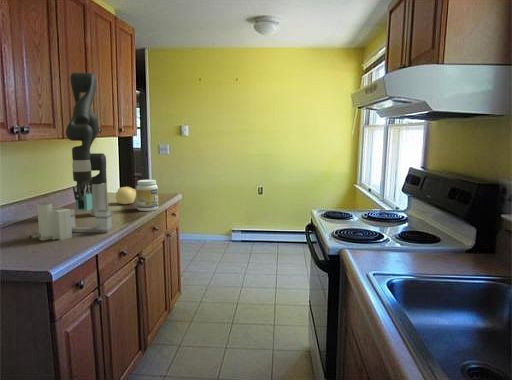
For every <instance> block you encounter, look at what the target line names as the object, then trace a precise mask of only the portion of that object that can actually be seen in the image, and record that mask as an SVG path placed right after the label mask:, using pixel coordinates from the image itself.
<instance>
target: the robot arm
mask: <svg viewBox="0 0 512 380" xmlns="http://www.w3.org/2000/svg"><path fill="white" fill-rule="evenodd" d="M69 78H70V86H71V90H72V95H73V99H74V106H73V110H72V111H73V112H72V118H71V119H70V121H69V123H68V124H67V126H66V128H65V136H66V138H67V140H69V141H73V142H75V141H76V142H77V141H78V142H81V145H76V146H73V147H72V148H71V155H72V156H71V159H72V166H71V167H72V179H73V180H72V181H74V182H76V186H73V187H72V191H73V196H74V200H75V201H76V200H77V201H78V207H79V209H84V201H83V200H84V195H85V193H88V194H92V209H90V210H89V213H90V216H91V217H95V216H96V215H95V212H97V211H99V210H109V202H108V201H109V198H108V197H109V196H108V183H107V156H106V155H105V153H102V152H101V153H99V152H98V153H97V152H95V153H93V152H92V153H91V147H92V144H93V142H94V140H96V137H97V136H98V134H99V131H100V129H99V127H100V126H99V120H98V117H97V115H96V114H95V112H94V110H92V109H91V108H92V105H93V102H94V98H95V95H96V92H97V83H98V82H97V77H96V76H95V74H94V73H91V72H72V73H71V74H70V77H69ZM82 93H83V94H84V93H85V94H84V95H82ZM93 171H95V172H98V174H96V175H94V176H92V172H93ZM81 195H82V197H81Z"/></svg>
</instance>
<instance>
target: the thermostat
mask: <svg viewBox="0 0 512 380" xmlns="http://www.w3.org/2000/svg"><path fill="white" fill-rule="evenodd" d="M36 207H37V208H36V211H37V220H38V221H37V223H38V231H37V232H38V233H37V234H33V235H29V239H35V238H39V241H47V240H60V241H63V240H68V239H73V232H72V228H71V214H70V210H69V208H64V207H61V206H58V205H57V206H53V203H52V202H42V203H37V204H36Z"/></svg>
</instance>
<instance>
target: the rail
mask: <svg viewBox="0 0 512 380" xmlns="http://www.w3.org/2000/svg"><path fill="white" fill-rule="evenodd" d="M68 209H69V208H68ZM69 210H70V214H71V228H72V233H102V234H103V233H107V234H108V233H110V232H111V231H113V230H112V228H113V221H112V220H113V218H112V215H113V214H112V209H108V210H99V211H97V212H95V215H96V216H94V217H95V226H77V225H76V214H75V211H76V210H75V209H69Z"/></svg>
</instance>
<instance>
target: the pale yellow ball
mask: <svg viewBox="0 0 512 380" xmlns="http://www.w3.org/2000/svg"><path fill="white" fill-rule="evenodd" d="M115 200H116V202H117V204H120V205H128V204H133V203H134V202H135V200H136V188H132V187H130V186H123V187H122V186H121V187H120V188H118V189H117V191H116V193H115Z"/></svg>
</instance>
